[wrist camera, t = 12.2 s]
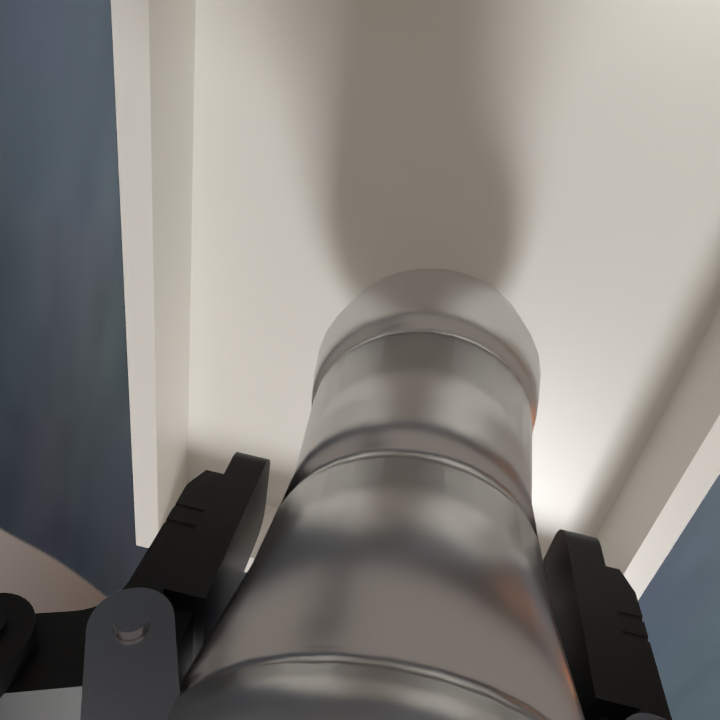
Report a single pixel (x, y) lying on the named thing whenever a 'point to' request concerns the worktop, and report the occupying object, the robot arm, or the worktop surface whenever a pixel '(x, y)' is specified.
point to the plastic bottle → (401, 531)
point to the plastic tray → (427, 229)
